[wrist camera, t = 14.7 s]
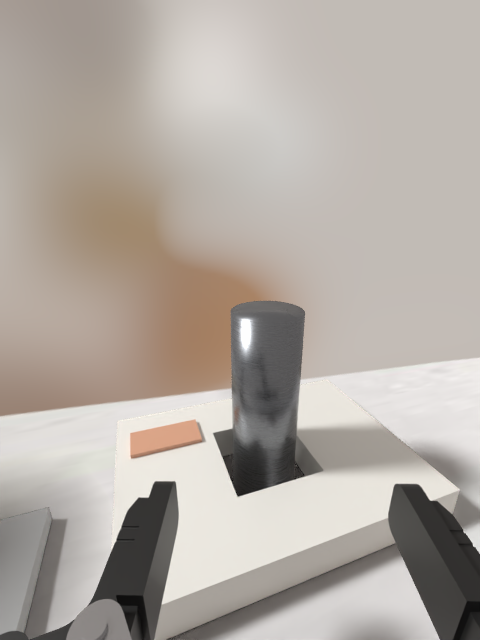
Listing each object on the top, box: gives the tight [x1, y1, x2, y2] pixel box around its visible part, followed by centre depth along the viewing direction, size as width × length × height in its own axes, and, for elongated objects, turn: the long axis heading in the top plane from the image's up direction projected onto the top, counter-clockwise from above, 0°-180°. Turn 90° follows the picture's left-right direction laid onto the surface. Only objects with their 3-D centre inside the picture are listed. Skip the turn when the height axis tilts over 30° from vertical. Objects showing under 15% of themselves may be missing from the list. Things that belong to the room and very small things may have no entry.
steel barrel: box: [231, 301, 305, 496], centre depth 21 cm, size 4×4×13 cm
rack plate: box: [111, 379, 460, 640], centre depth 22 cm, size 20×14×3 cm
